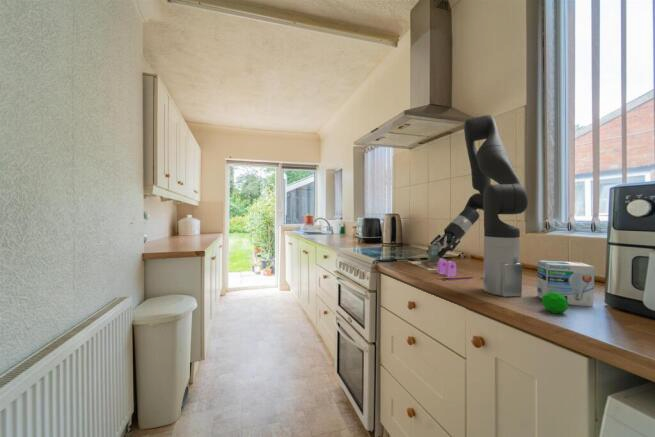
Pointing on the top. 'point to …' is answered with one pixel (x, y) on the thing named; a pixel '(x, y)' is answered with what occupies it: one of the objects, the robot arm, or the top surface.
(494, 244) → the robot arm
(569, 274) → the light bulb box
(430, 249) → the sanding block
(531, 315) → the top surface
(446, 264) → the bracket
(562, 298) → the green lime
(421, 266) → the board
